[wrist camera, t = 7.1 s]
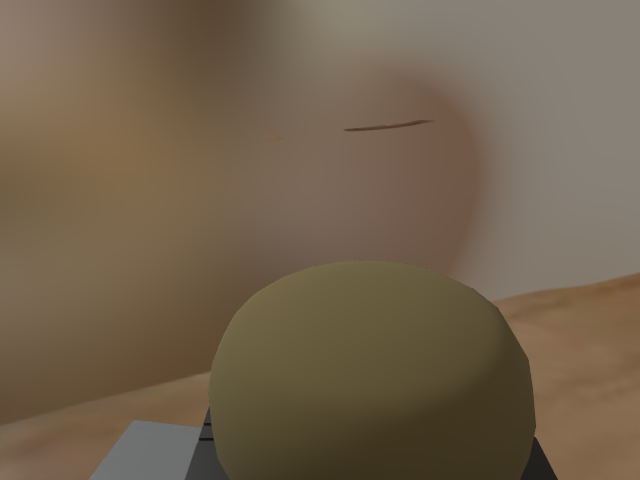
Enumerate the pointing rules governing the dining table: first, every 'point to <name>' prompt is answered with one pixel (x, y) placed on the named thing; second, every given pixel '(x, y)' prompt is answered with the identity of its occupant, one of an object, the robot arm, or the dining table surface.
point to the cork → (371, 380)
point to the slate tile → (150, 453)
